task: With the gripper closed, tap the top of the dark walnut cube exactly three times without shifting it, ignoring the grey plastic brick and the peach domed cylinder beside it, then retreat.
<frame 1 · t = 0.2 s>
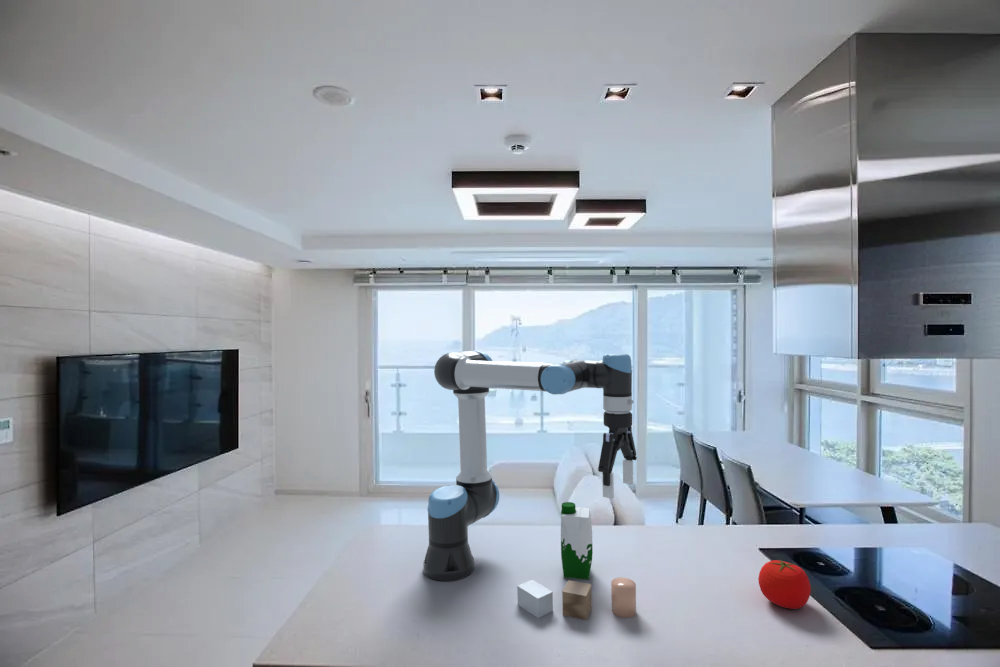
hand: (618, 490, 134), 28 cm above the counter, fingers open, 13 cm apart
tomato: (784, 604, 128), on the counter
walnut cube: (577, 611, 126), on the counter
peach domed cylinder: (623, 611, 126), on the counter
milk carton: (577, 573, 145), on the counter
grey brick: (535, 608, 128), on the counter
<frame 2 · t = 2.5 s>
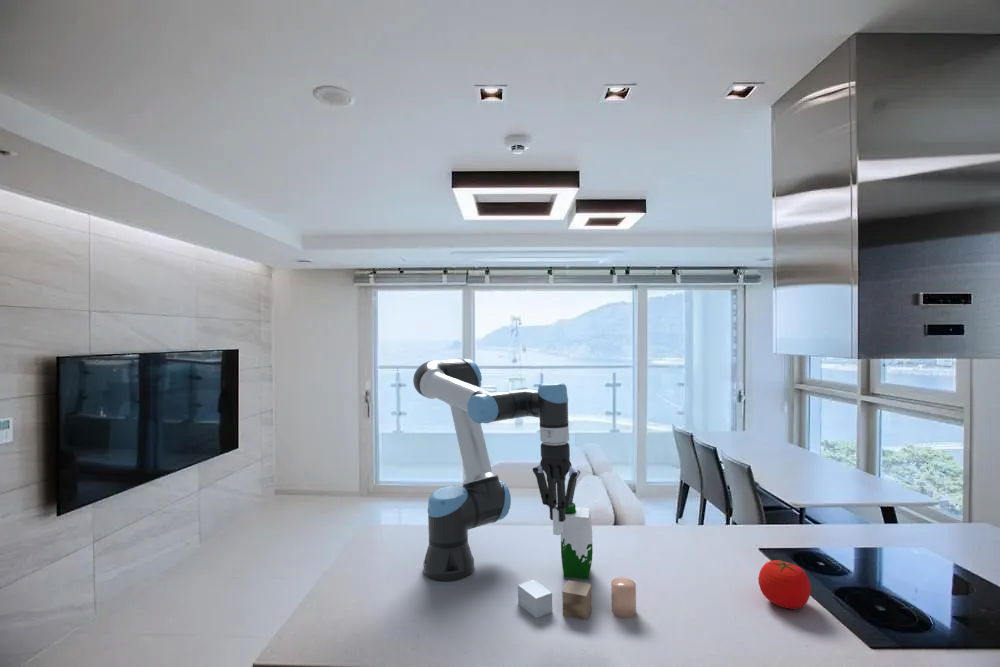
hand: (558, 532, 130), 18 cm above the counter, fingers closed
nothing on the counter moved.
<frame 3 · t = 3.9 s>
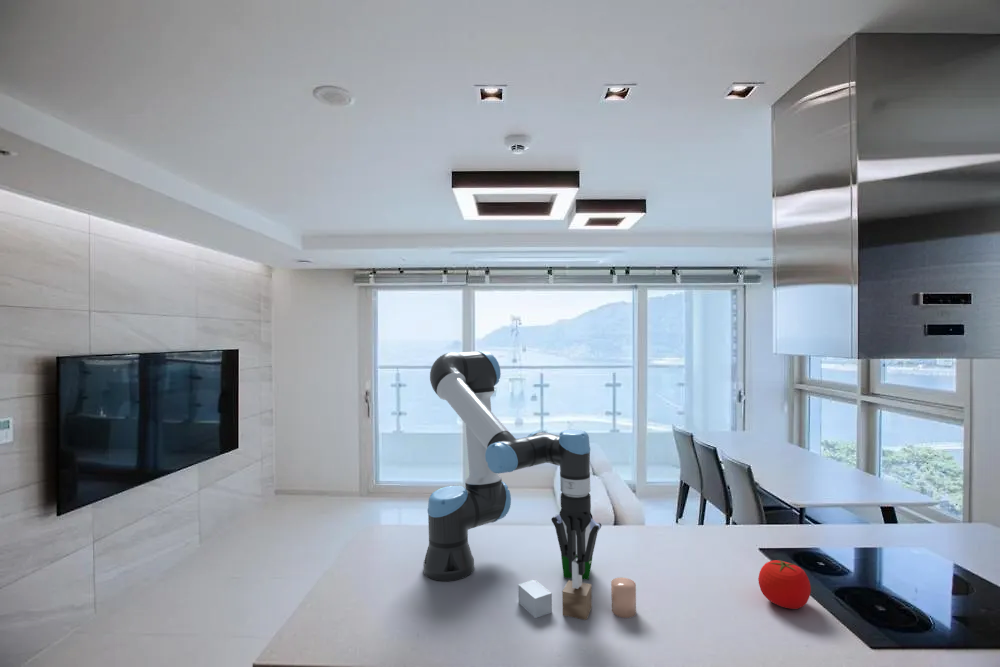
hand: (577, 585, 126), 6 cm above the counter, fingers closed
nothing on the counter moved.
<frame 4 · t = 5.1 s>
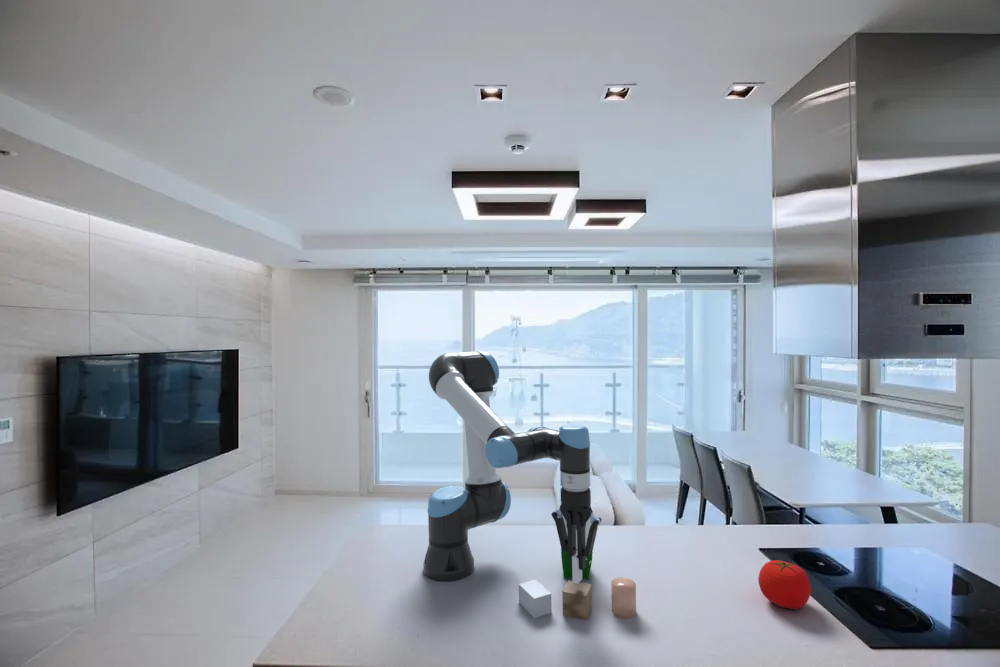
hand: (577, 580, 126), 8 cm above the counter, fingers closed
nothing on the counter moved.
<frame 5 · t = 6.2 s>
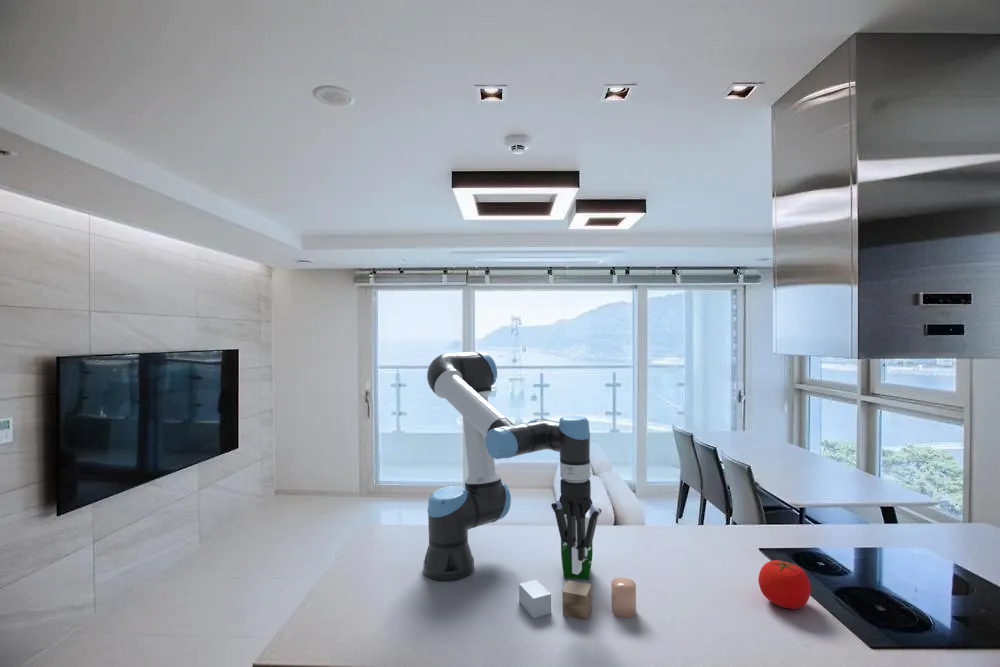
hand: (577, 571, 126), 10 cm above the counter, fingers closed
nothing on the counter moved.
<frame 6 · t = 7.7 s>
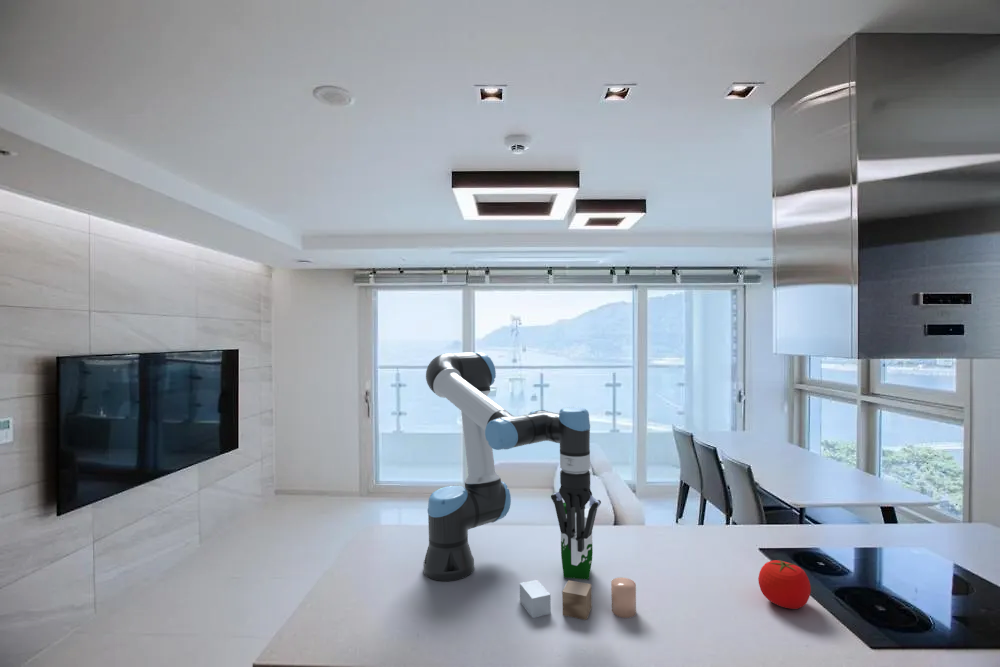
hand: (576, 562, 126), 12 cm above the counter, fingers closed
nothing on the counter moved.
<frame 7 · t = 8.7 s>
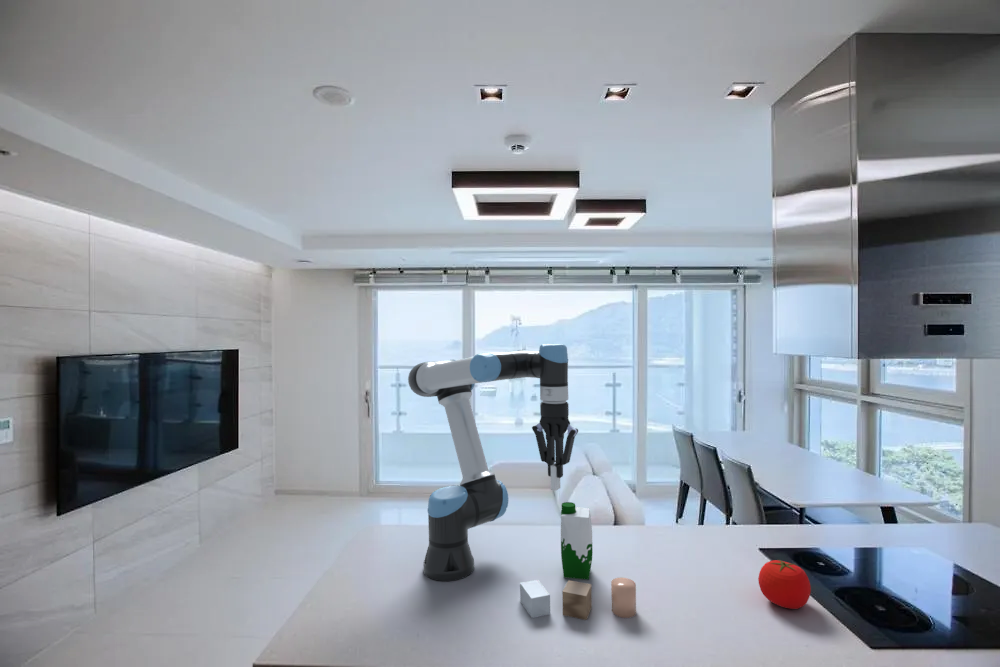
hand: (555, 488, 134), 28 cm above the counter, fingers closed
nothing on the counter moved.
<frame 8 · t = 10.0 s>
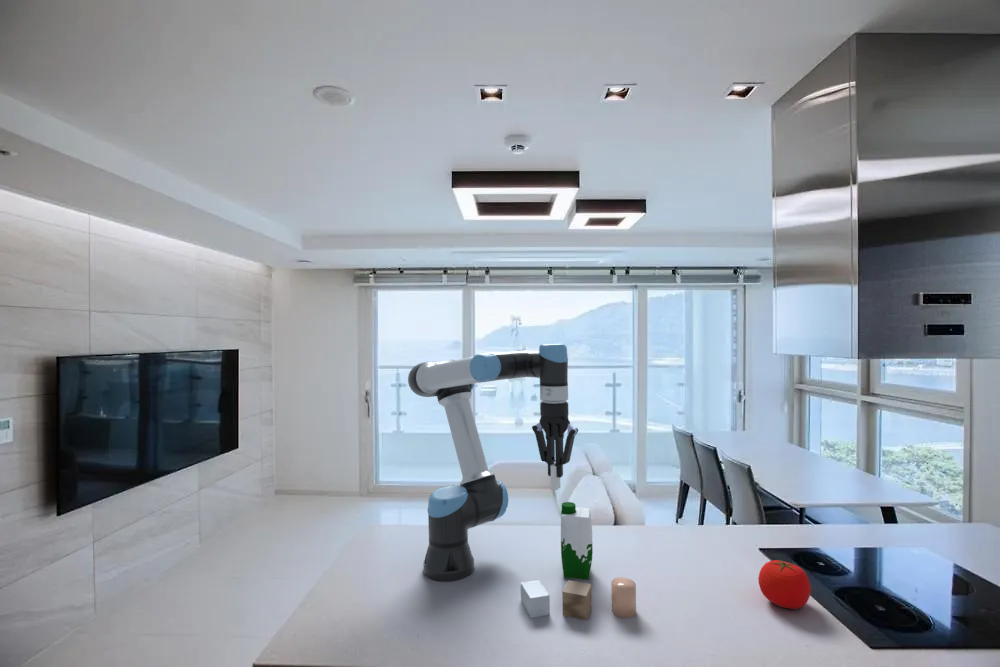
hand: (555, 488, 134), 28 cm above the counter, fingers closed
nothing on the counter moved.
at the end: walnut cube moved 0.1 cm from its start; walnut cube tilted 0°; grey brick moved 0.2 cm from its start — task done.
